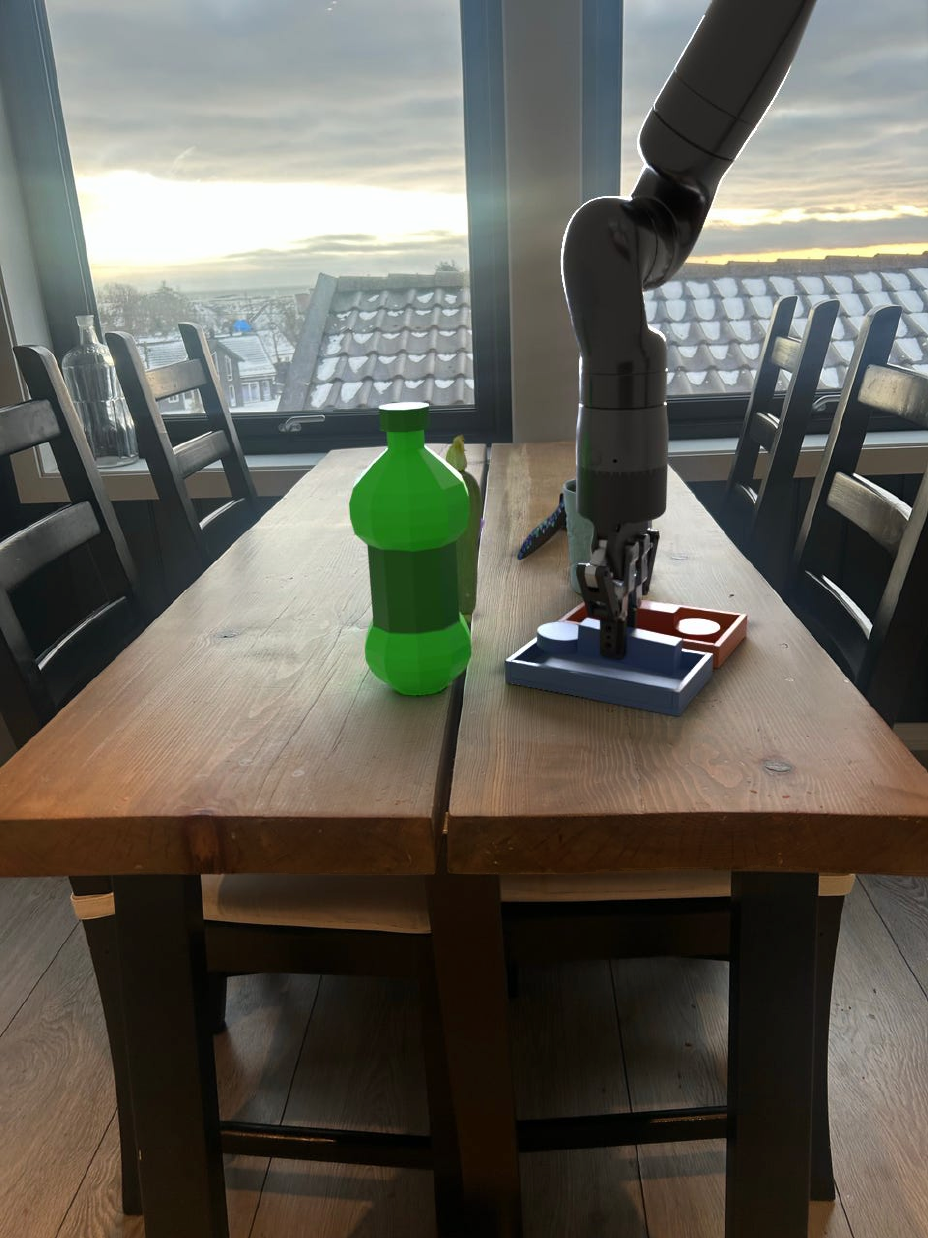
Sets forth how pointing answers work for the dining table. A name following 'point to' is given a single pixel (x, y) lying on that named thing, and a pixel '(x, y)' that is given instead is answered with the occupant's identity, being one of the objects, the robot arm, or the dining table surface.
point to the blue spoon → (640, 645)
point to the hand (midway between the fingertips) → (618, 651)
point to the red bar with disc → (674, 623)
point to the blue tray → (611, 678)
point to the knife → (544, 531)
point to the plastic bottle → (412, 556)
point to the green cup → (578, 532)
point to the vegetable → (467, 533)
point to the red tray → (729, 622)
